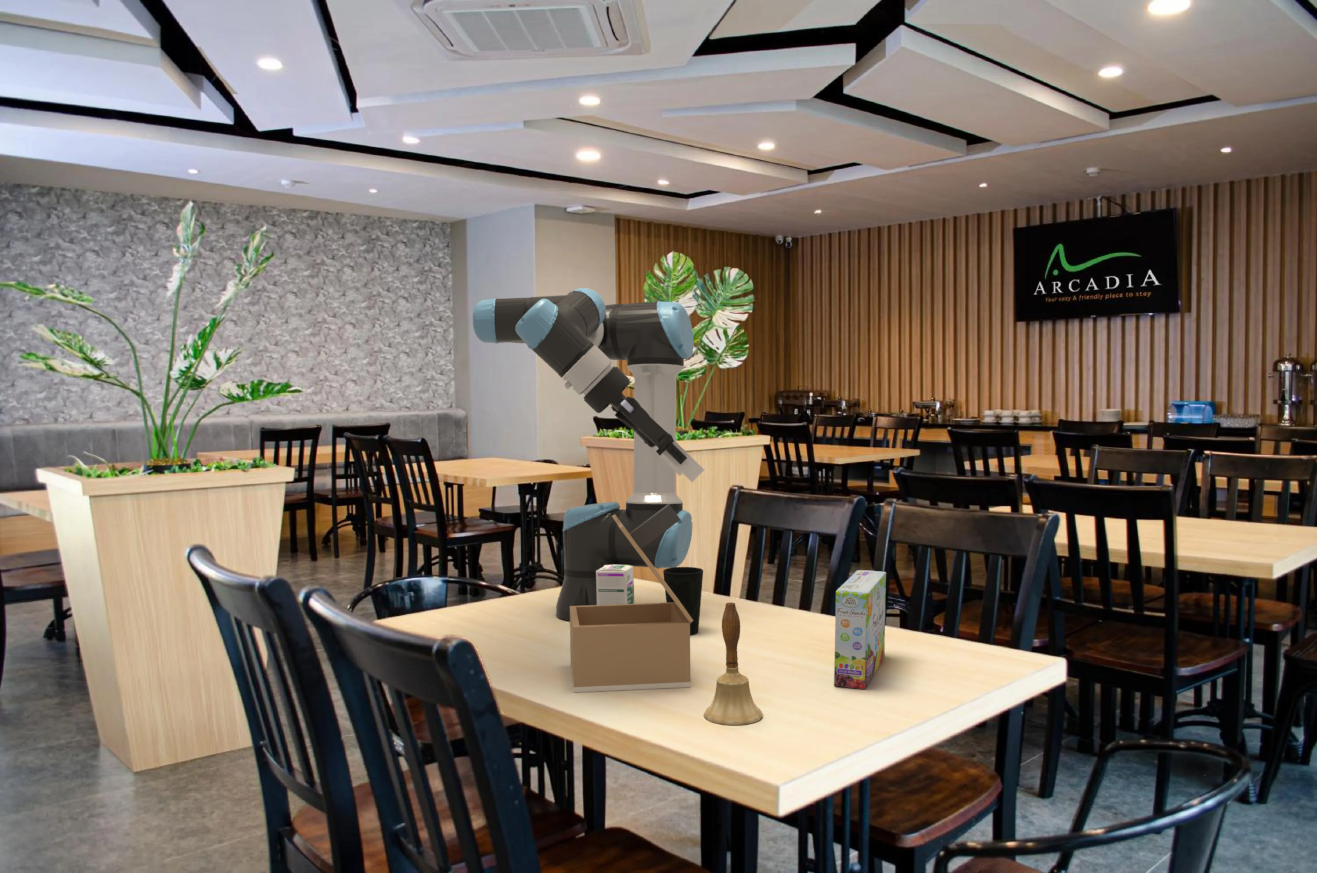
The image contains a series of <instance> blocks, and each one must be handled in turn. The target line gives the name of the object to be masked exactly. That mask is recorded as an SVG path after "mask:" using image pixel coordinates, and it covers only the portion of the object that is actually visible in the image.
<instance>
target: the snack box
mask: <svg viewBox="0 0 1317 873" xmlns="http://www.w3.org/2000/svg"><path fill="white" fill-rule="evenodd" d="M886 582H887V572H886V571H880V570H879V571H877V570H863V569H861V570H860V569H858V570H857V569H856V571H855V572H854V573H853V574H852V575H851V576H850V577H848V579H847V580H846V581H844V583H842V584H841V585H840V587H838V588H837V590H836V591H835V615H834V616H835V624H834V626H835V627H834V665H833V666H834V667H833V669H834V670H833V671H834V672H833V674H834V675H833V686H834V687H841V688H849V689H859V690H866V689H867V687H868V685H869V684H870V682H871V680H872V679H873V678H874V675H875V673H876V672H877V670H878V668H879V667H880V665H881V664H882V662H883V661H884V659H885V657H886V654H885V652H886V651H885V649H886V648H885V647H886V645H885V644H886V640H885V639H886V633H885V631H886V591H887V590H886V588H887V587H886V585H887V584H886Z"/></svg>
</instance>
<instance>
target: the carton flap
mask: <svg viewBox="0 0 1317 873" xmlns="http://www.w3.org/2000/svg"><path fill="white" fill-rule="evenodd" d="M612 517H613V519H614V520H615V522H616V523H617V525H618V526H619V528H620V529H621V531H622V532H623V533H624V535H625V536H626V537H627V539H628V540H629V541H630V543H631V544H632V545H633V547H634V548H635V549H636V551H637V552H638V553H639V555H640V556H641V557H642V559H643V560H644V561H645V563H646V564H647V565H648V567H647V568H649V570H650V571H651V572H652V573H653V575H654V576H655V577H656V579H657V581H658V582H659V583H660V584H661V586H662V587H663V588H664V591H665V590H666V591H667V592H668V594H669V595H670V596H671V598H672V599H673V600H674V602H675V603H676V604H677V606H678V607H679V608H680V610H681V611H682V613H683V614H684V615H685V617H686V618H687V619H688V621H689V622H690V623H691V622H692V621H693V619H692V618H691V617H690V615H689V614H688V612H687V611H686V610H685V608H684V607H683V605H682V604H681V603H680V601H679V600H678V598H677V597H676V596H675V594H674V593H673V592H672V590H671V589H670V588H669V586H668V585H667V584H666V582H665V581H664V577H662V576H661V574H660V573H659V571H658V570H657V568H656V567H654V566H653V565H652V563H651V562H650V561H649V559H648V558H647V557H646V555H645V554H644V553H643V551H642V550H641V549H642V548H643V547H645V546H646V545H647V544H649V543H650V542H651V541H653V540H654V539H655V538H657V537H658V536H659V535H661V534H662V533H663V532H665V531H666V530H667V529H669V528H670V527H671V526H673V525H674V524H675V523H677V522H678V521H679V520H681V519H680V518H679V517H678V515H677V514H676V513H675V511H674V510H673V509H672V507H671V506H670V505H669V504H667V505H666V506H665V507H663V508H662V509H661V510H659V511H658V512H657V513H655V514H654V515H653V516H651V517H650V518H649V519H647V520H646V521H645V522H643V523H642V524H641V525H639V526H638V527H637V528H635V529H634V530H633V531H631V532H630V533H629V532H628V531H627V530H626V528H625V527H624V526H623V524H622V523H621V522H620V520H619V519H618V518H617V516H616V515H615V514H614V515H613V516H612Z"/></svg>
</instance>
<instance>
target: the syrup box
mask: <svg viewBox="0 0 1317 873" xmlns="http://www.w3.org/2000/svg"><path fill="white" fill-rule="evenodd" d="M634 576H635V575H634V567H633V566H631V565H621V564H616V565H604V567H602V568H600V569H599V570H597V571H596V591H597V605H615V604H635V586H634V585H635V584H634V583H635V580H634Z"/></svg>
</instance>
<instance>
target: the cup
mask: <svg viewBox="0 0 1317 873" xmlns="http://www.w3.org/2000/svg"><path fill="white" fill-rule="evenodd" d="M703 578H704V569H702V568H699V567H695V566H694V567H691V566H677V567H673V568H664V569H663V580H664V581H665V582H666V584H667V585H668V586H669V588H670V589H671V590H672V592H673V593H674V594H675V596H676V597H677V598H678V600H679V601H680V603H681V604H682V605H683V607H684V608H685V610H686V611H687V612H688V614H689V615H690V617H691V618H692V619H693V621H692V622H691V623H690V636H695V635H697V634H699V631H700V630H699V629H700V628H699V627H700V615H701V605H702V604H701V603H702V592H703V591H702V590H703V580H704V579H703ZM664 593H665V603H671V602H674V600H673V599H672V598H671V596H670V595H669V594H668V592H667V591H666V590H665V589H664Z"/></svg>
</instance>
